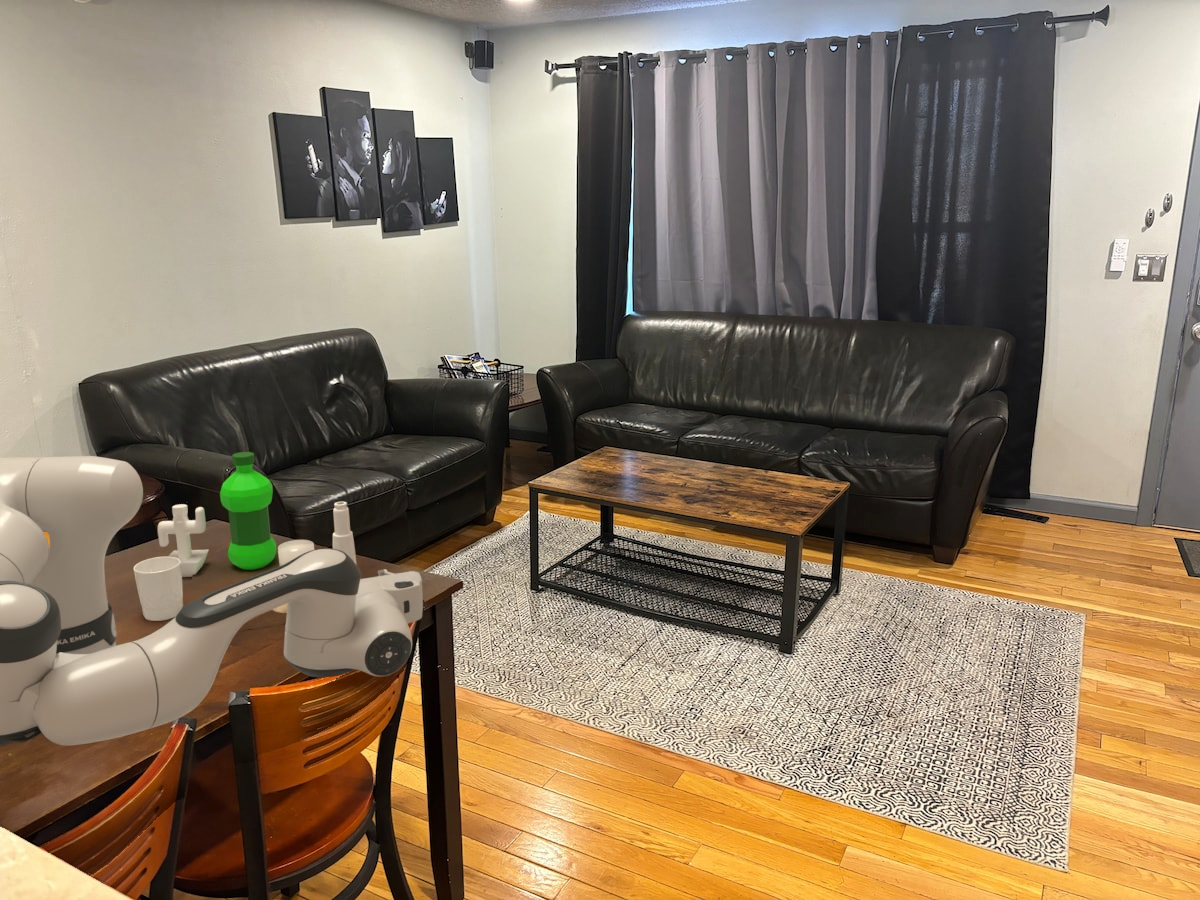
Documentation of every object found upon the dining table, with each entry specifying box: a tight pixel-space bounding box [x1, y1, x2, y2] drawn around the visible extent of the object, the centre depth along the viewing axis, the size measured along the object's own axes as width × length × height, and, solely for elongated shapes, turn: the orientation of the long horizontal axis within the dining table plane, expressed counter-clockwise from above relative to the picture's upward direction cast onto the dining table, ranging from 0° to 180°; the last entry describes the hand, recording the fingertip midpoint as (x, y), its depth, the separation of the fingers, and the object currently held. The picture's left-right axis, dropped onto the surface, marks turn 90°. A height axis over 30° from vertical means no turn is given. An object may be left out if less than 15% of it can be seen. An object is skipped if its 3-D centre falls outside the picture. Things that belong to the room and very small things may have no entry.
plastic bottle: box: [219, 451, 277, 571], centre depth 181 cm, size 10×10×25 cm
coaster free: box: [271, 603, 288, 614], centre depth 167 cm, size 9×9×1 cm
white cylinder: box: [277, 539, 315, 567], centre depth 177 cm, size 7×7×7 cm
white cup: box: [132, 556, 184, 622], centre depth 161 cm, size 8×8×10 cm
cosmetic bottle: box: [332, 501, 358, 566], centre depth 161 cm, size 6×6×22 cm
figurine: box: [157, 503, 210, 578], centre depth 179 cm, size 7×9×15 cm
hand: (354, 577), depth 151 cm, fingers open, 8 cm apart
